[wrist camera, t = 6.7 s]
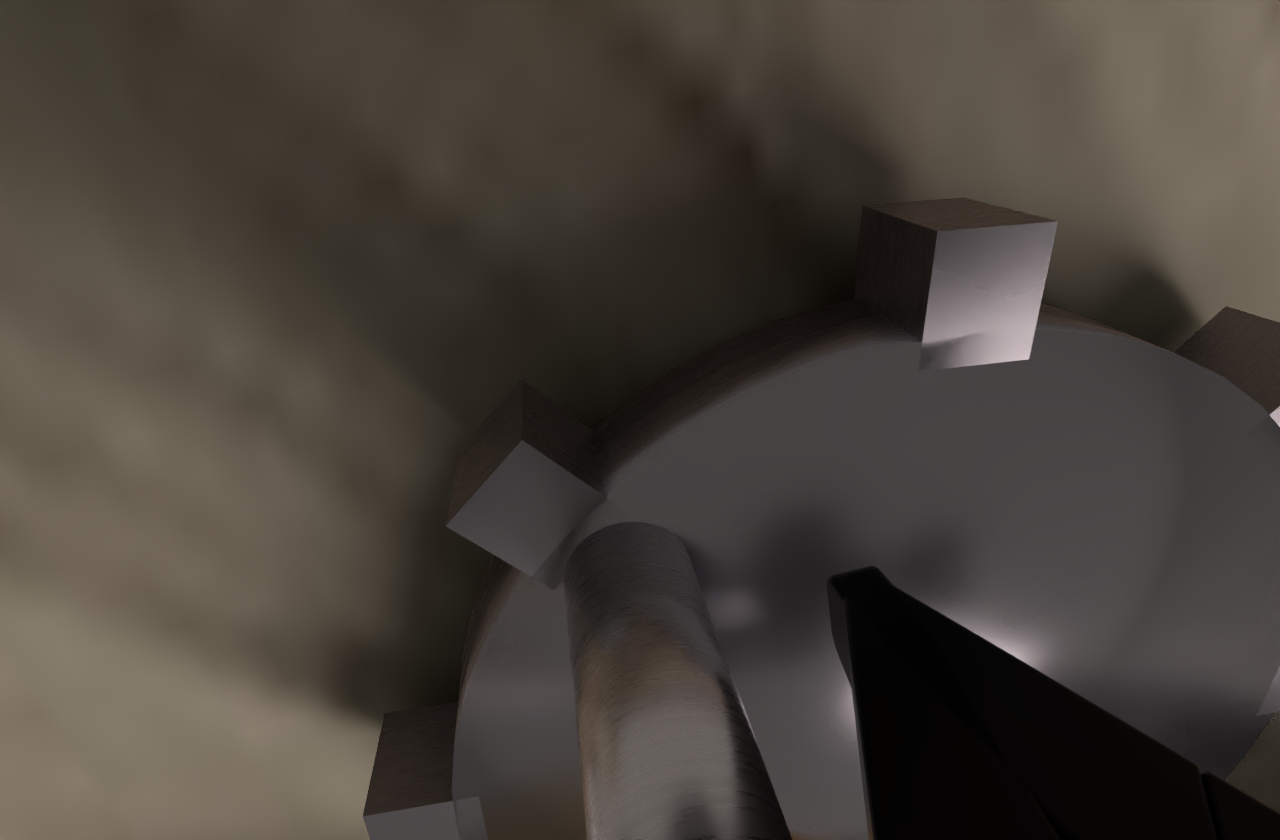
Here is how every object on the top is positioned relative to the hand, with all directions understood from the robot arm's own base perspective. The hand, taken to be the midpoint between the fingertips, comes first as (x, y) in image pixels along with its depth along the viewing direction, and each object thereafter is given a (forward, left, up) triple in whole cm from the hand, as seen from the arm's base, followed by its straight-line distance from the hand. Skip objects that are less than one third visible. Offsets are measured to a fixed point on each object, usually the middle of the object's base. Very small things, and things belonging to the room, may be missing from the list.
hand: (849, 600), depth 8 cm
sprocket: (-1, +5, -4) cm, 6 cm away
